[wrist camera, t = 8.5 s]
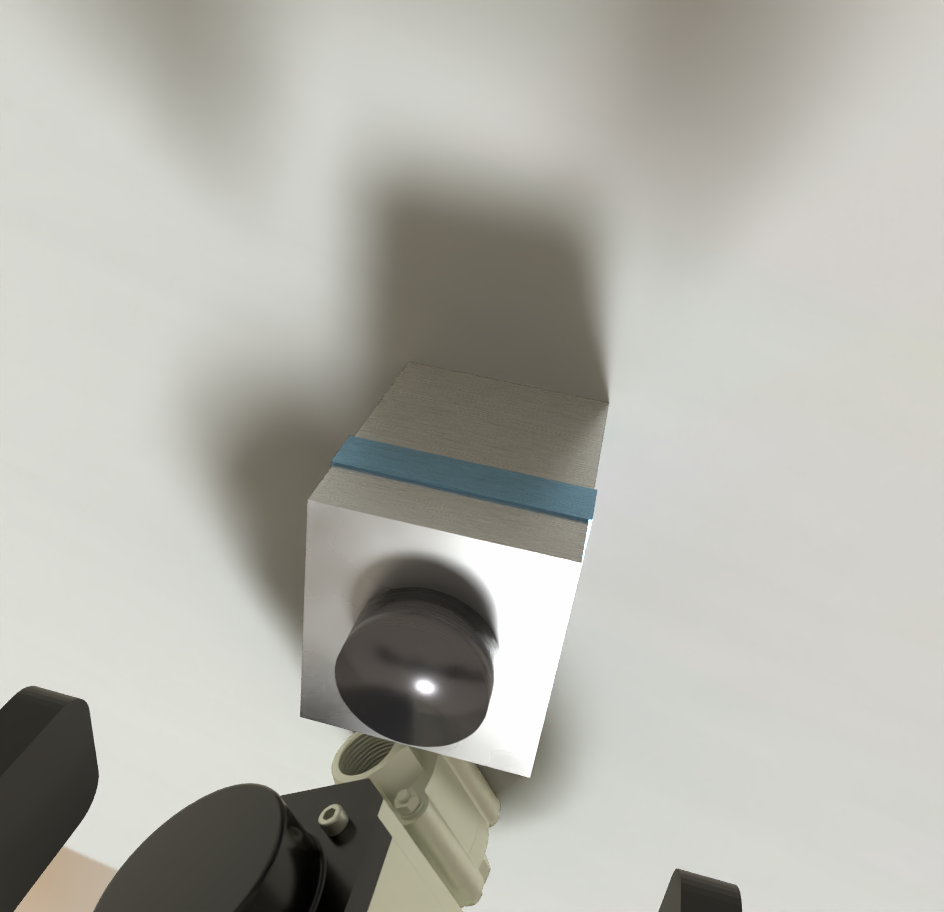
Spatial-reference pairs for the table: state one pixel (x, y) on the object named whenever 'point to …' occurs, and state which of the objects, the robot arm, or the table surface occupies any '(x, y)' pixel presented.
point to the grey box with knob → (449, 564)
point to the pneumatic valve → (324, 842)
